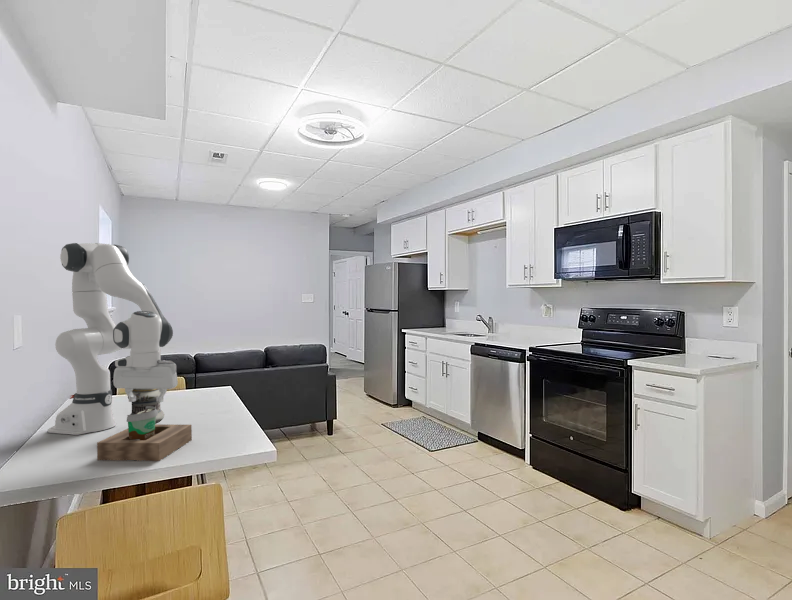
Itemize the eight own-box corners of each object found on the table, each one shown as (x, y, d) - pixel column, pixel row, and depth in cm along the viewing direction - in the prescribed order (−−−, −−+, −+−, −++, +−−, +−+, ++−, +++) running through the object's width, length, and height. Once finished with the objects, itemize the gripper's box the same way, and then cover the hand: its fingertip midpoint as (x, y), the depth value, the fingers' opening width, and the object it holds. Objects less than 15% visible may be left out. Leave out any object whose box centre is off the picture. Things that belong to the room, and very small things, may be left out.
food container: (146, 446, 147) (145, 415, 147) (127, 446, 147) (126, 415, 147) (165, 434, 160) (164, 405, 160) (147, 434, 160) (146, 405, 160)
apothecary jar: (137, 439, 164) (135, 388, 164) (122, 433, 172) (121, 385, 171) (170, 430, 174) (169, 383, 174) (155, 425, 181) (154, 380, 181)
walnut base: (97, 460, 144) (97, 442, 144) (136, 439, 164) (136, 424, 164) (159, 460, 143) (159, 443, 143) (191, 440, 163) (191, 424, 163)
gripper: (181, 359, 155) (181, 399, 156) (122, 358, 157) (123, 399, 157) (170, 362, 149) (171, 404, 149) (110, 361, 150) (110, 403, 151)
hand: (146, 401), depth 153 cm, fingers open, 8 cm apart
